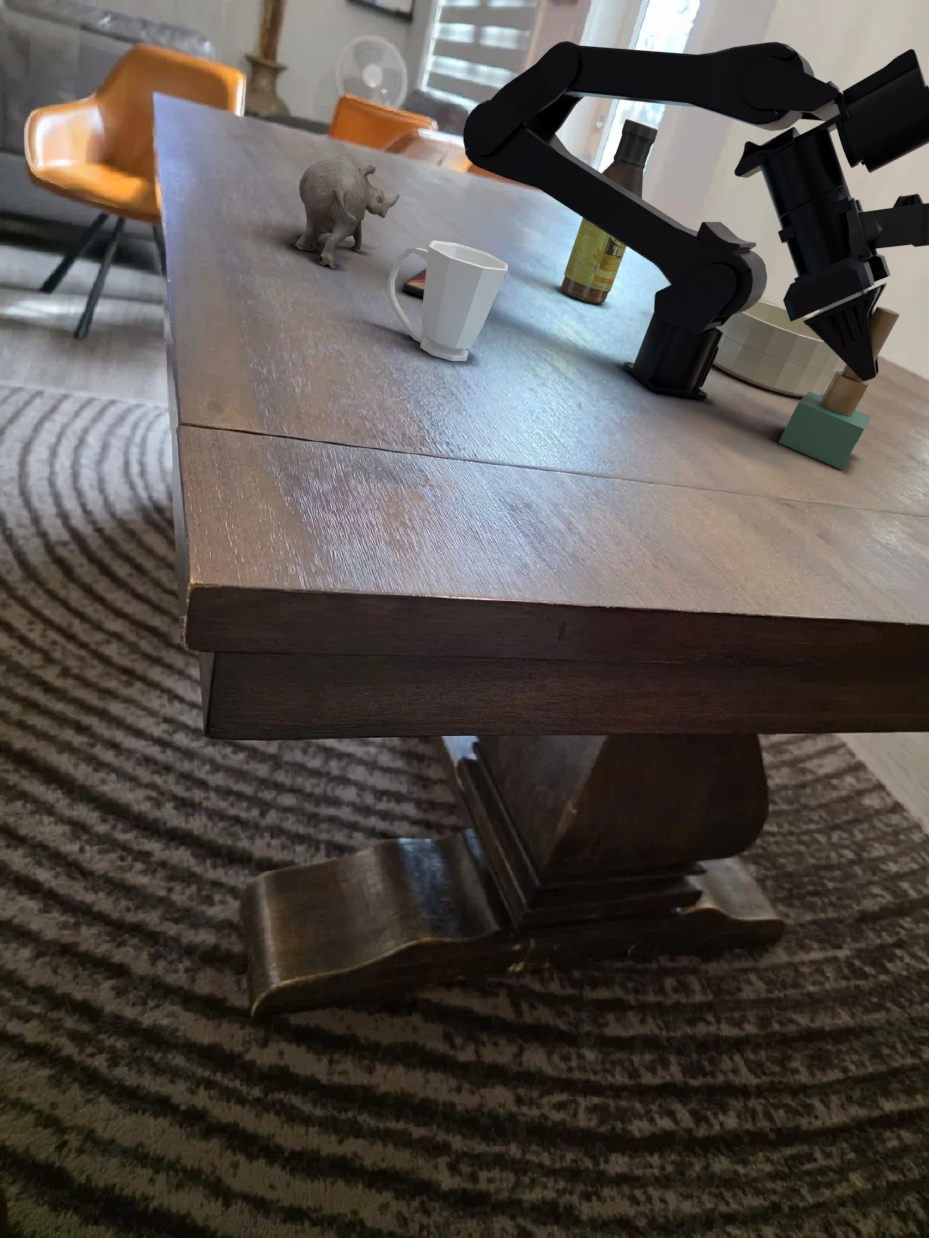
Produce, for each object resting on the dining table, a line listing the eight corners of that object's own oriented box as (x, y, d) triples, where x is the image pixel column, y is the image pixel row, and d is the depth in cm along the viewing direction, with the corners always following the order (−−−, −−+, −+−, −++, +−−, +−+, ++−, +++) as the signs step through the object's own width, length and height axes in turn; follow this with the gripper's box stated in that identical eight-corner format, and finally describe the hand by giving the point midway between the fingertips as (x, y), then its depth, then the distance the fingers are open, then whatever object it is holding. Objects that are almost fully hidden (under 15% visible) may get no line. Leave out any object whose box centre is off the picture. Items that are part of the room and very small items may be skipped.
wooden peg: (834, 414, 76) (888, 313, 71) (813, 400, 78) (864, 301, 74) (858, 418, 77) (913, 319, 73) (837, 404, 80) (888, 307, 75)
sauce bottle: (594, 308, 105) (656, 128, 95) (550, 289, 107) (606, 112, 97) (613, 304, 111) (674, 134, 100) (572, 287, 113) (627, 118, 102)
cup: (461, 373, 70) (489, 272, 66) (359, 329, 72) (379, 228, 68) (496, 360, 76) (523, 267, 71) (400, 319, 78) (421, 226, 74)
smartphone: (401, 283, 86) (434, 261, 98) (399, 291, 86) (433, 268, 99) (472, 305, 85) (496, 280, 98) (470, 314, 86) (494, 288, 98)
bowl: (745, 390, 92) (773, 331, 88) (672, 340, 103) (695, 285, 99) (847, 408, 98) (877, 353, 95) (768, 358, 109) (792, 307, 106)
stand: (778, 442, 78) (798, 401, 76) (789, 430, 83) (809, 391, 81) (841, 470, 77) (864, 429, 75) (849, 455, 82) (871, 416, 79)
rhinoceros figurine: (256, 220, 83) (322, 86, 84) (282, 283, 97) (339, 167, 98) (330, 254, 83) (395, 119, 84) (345, 312, 97) (401, 196, 98)
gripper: (907, 142, 61) (973, 352, 63) (921, 157, 76) (974, 327, 78) (753, 221, 67) (819, 409, 70) (794, 221, 82) (847, 376, 85)
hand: (871, 377), depth 76 cm, fingers closed on wooden peg, 2 cm apart
